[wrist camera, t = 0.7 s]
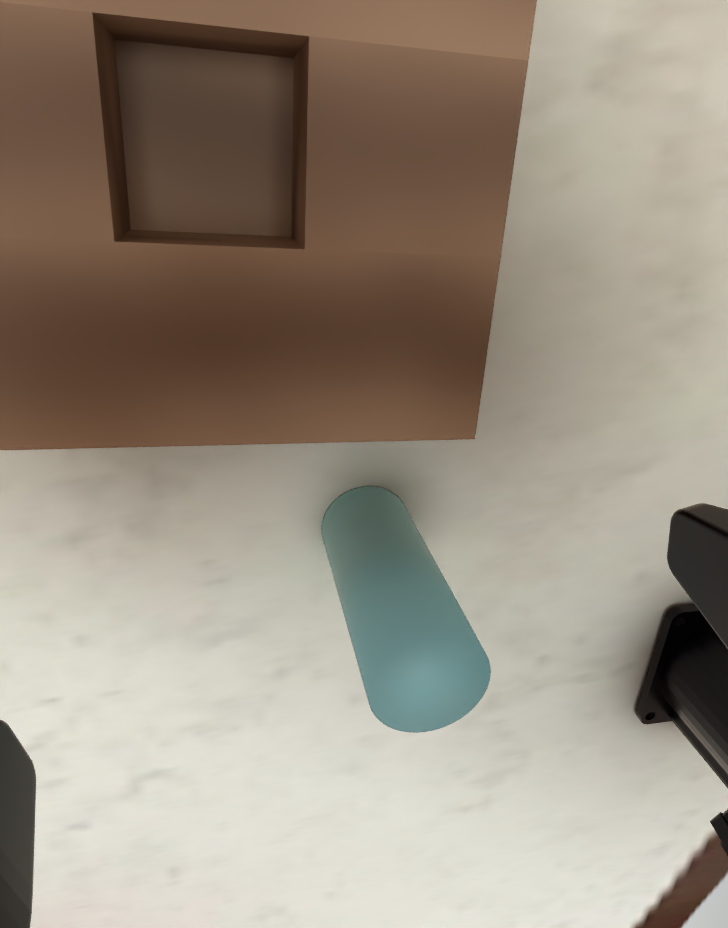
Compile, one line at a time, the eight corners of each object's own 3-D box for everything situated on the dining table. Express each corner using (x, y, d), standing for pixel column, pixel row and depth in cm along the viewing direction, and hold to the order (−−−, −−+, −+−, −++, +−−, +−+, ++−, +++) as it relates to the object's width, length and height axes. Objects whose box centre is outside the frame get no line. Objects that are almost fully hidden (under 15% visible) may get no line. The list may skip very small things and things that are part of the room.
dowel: (404, 560, 24) (481, 724, 17) (320, 566, 23) (364, 739, 16) (411, 484, 23) (498, 628, 16) (323, 488, 22) (372, 639, 15)
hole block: (432, 393, 21) (474, 438, 18) (-28, 397, 19) (-86, 452, 15) (491, -148, 16) (570, -240, 12) (-162, -267, 13) (-307, -434, 9)
